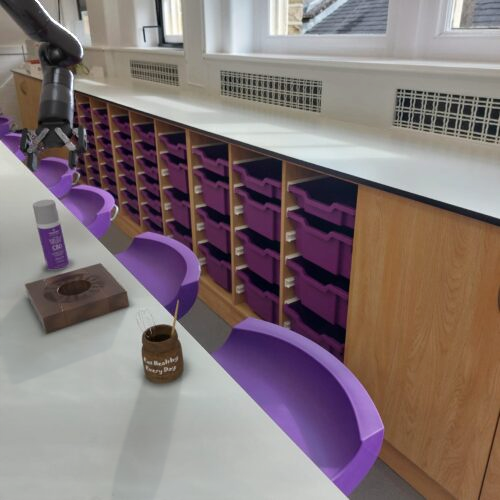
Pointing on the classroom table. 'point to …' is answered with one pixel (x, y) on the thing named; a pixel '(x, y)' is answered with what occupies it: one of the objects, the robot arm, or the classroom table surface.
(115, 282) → the socket plate
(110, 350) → the classroom table surface
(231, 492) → the classroom table surface
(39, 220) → the container
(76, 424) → the classroom table surface
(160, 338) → the utensil holder
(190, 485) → the classroom table surface
